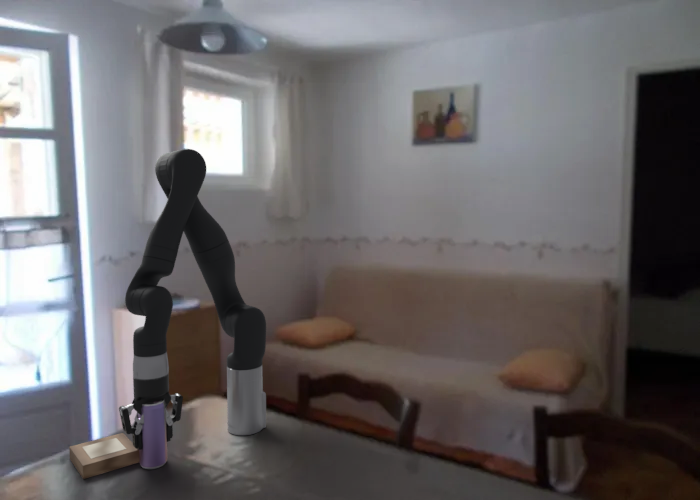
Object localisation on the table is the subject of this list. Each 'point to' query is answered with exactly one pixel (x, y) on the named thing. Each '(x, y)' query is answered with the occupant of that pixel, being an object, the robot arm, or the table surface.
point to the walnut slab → (103, 455)
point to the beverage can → (153, 435)
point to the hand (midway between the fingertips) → (153, 444)
